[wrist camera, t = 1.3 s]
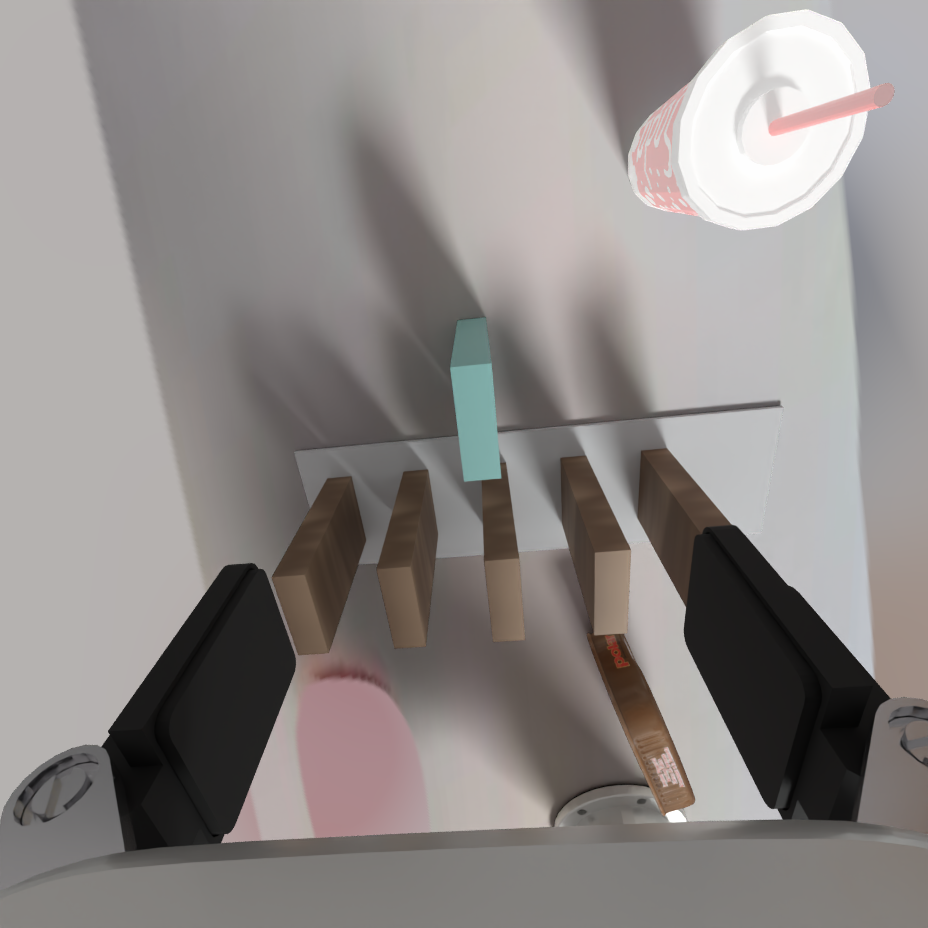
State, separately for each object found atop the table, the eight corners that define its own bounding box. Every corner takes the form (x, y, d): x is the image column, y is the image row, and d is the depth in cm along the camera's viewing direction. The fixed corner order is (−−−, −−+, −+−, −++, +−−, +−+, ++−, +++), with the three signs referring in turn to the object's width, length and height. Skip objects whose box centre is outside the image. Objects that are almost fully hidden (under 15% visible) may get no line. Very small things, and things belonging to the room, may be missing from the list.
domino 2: (428, 469, 32) (410, 566, 23) (438, 534, 34) (425, 646, 25) (403, 471, 32) (376, 569, 23) (415, 536, 34) (394, 648, 25)
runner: (781, 405, 30) (784, 407, 30) (759, 530, 34) (761, 533, 34) (295, 450, 32) (293, 452, 32) (327, 564, 36) (326, 567, 36)
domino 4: (506, 462, 32) (519, 558, 23) (511, 528, 34) (525, 639, 25) (481, 464, 32) (484, 561, 23) (487, 530, 34) (493, 642, 25)
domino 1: (351, 476, 32) (304, 574, 23) (366, 540, 35) (328, 653, 26) (327, 478, 32) (271, 577, 23) (343, 542, 35) (298, 655, 26)
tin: (576, 610, 37) (602, 709, 30) (617, 597, 37) (654, 695, 29) (631, 733, 43) (664, 842, 36) (667, 724, 43) (709, 832, 35)
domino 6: (667, 448, 31) (745, 541, 22) (661, 516, 33) (731, 626, 24) (640, 450, 31) (708, 544, 22) (637, 518, 33) (697, 628, 24)
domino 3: (485, 317, 28) (491, 363, 19) (493, 401, 30) (501, 478, 21) (457, 320, 28) (450, 367, 19) (466, 404, 30) (464, 481, 21)
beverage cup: (661, 53, 23) (892, -151, 10) (766, 125, 24) (1088, 23, 11) (587, 189, 25) (700, 159, 13) (685, 249, 26) (877, 276, 14)
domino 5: (586, 455, 31) (631, 549, 22) (586, 522, 34) (627, 633, 25) (560, 457, 32) (594, 552, 23) (562, 524, 34) (594, 635, 25)
